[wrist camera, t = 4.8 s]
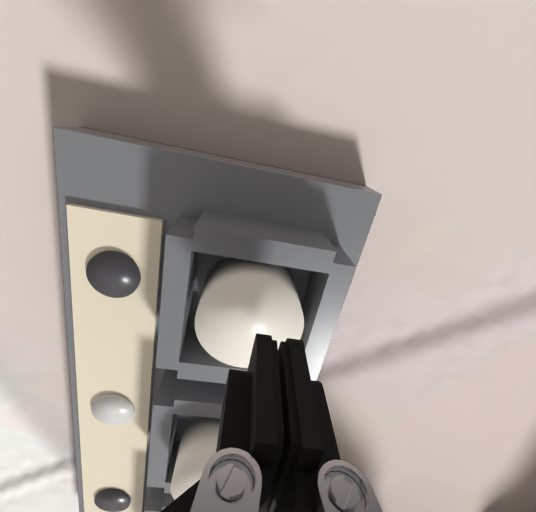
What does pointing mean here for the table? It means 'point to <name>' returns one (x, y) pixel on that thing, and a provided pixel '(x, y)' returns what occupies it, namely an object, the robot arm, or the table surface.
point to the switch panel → (177, 290)
